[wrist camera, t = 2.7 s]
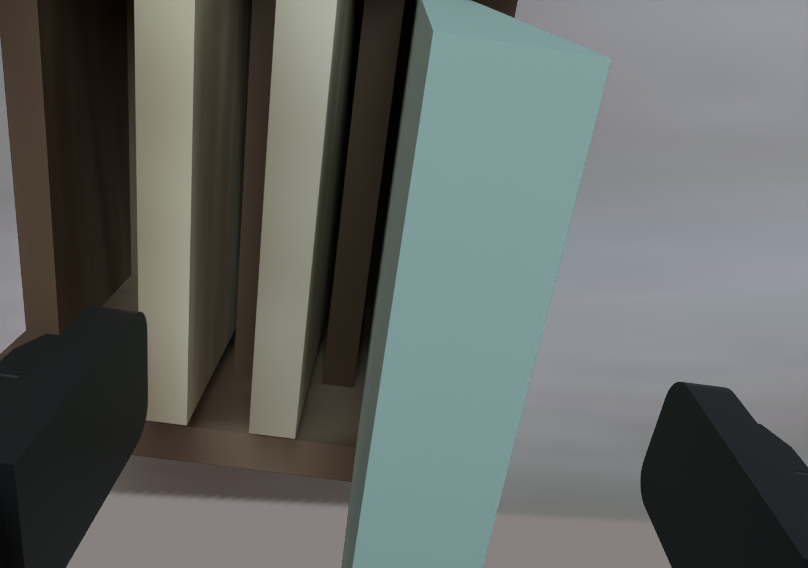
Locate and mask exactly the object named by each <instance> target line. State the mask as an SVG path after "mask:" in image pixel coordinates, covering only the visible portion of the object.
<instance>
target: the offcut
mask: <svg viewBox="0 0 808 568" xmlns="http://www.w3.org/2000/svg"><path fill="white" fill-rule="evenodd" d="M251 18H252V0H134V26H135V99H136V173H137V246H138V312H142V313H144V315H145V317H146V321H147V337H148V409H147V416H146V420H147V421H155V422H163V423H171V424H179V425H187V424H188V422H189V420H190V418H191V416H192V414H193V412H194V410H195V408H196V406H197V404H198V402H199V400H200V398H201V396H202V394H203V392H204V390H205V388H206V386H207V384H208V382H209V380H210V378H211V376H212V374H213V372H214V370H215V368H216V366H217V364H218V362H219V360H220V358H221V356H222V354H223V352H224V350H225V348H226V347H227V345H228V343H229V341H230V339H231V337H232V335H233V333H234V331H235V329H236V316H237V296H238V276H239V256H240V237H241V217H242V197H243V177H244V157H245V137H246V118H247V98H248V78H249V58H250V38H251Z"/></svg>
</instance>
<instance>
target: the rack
mask: <svg viewBox="0 0 808 568" xmlns="http://www.w3.org/2000/svg"><path fill="white" fill-rule="evenodd" d="M472 1H474V2H477V3H479V4H482V5H484V6H486V7H489V8H491V9H494V10H496V11H498V12H501V13H503V14H506V15H508V16H511V17H513V18H514V17H515V12H516V6H517V1H518V0H472ZM414 5H415V0H365V2H364V11H363V20H362V29H361V38H360V47H359V56H358V65H357V74H356V83H355V92H354V101H353V110H352V119H351V128H350V137H349V146H348V155H347V164H346V173H345V182H344V191H343V200H342V209H341V218H340V227H339V236H338V245H337V254H336V263H335V272H334V281H333V290H332V296H331V300H330V304H329V308H328V311H327V315H326V319H325V323H324V327H323V331H322V335H321V339H320V343H319V347H318V351H317V355H316V359H315V362H314V366H313V370H312V374H311V378H310V382H309V386H308V390H307V394H306V398H305V402H304V406H303V409H302V413H301V417H300V421H299V425H298V429H297V433H296V437H295V439H292V438H284V437H276V436H268V435H260V434H252V433H249V422H250V406H251V391H252V375H253V359H254V343H255V327H256V312H257V296H258V280H259V264H260V248H261V233H262V217H263V201H264V185H265V169H266V154H267V138H268V122H269V106H270V90H271V75H272V59H273V43H274V27H275V12H276V0H252V18H251V38H250V58H249V78H248V98H247V118H246V137H245V157H244V177H243V197H242V217H241V237H240V256H239V276H238V296H237V316H236V329H235V331H234V333H233V335H232V337H231V339H230V341H229V343H228V345H227V347H226V348H225V350H224V352H223V354H222V356H221V358H220V360H219V362H218V364H217V366H216V368H215V370H214V372H213V374H212V376H211V378H210V380H209V382H208V384H207V386H206V388H205V390H204V392H203V394H202V396H201V398H200V400H199V402H198V404H197V406H196V408H195V410H194V412H193V414H192V416H191V418H190V420H189V422H188V424H187V425H179V424H171V423H163V422H155V421H147V420H146V421H145V425H144V429H143V432H142V435H141V438H140V440H139V442H138V444H137V446H136V448H135V449H134V451H133V453H132V454H131V455H137V456H145V457H153V458H161V459H170V460H178V461H186V462H194V463H202V464H211V465H219V466H227V467H235V468H243V469H252V470H260V471H268V472H276V473H284V474H293V475H301V476H309V477H317V478H326V479H334V480H342V481H350V482H352V477H353V469H354V460H355V452H356V444H357V435H358V427H359V419H360V411H361V402H362V394H363V386H364V377H365V369H366V361H367V353H368V344H369V336H370V328H371V320H372V311H373V303H374V295H375V287H376V279H377V272H378V265H379V258H380V251H381V243H382V236H383V229H384V222H385V215H386V207H387V200H388V193H389V186H390V178H391V171H392V164H393V157H394V150H395V142H396V135H397V128H398V121H399V114H400V106H401V99H402V92H403V85H404V77H405V70H406V63H407V56H408V49H409V41H410V34H411V27H412V20H413V13H414ZM0 37H1V48H2V60H3V71H4V83H5V94H6V105H7V117H8V128H9V140H10V151H11V162H12V174H13V185H14V197H15V208H16V219H17V231H18V242H19V253H20V265H21V276H22V288H23V299H24V310H25V322H26V331H25V332H24V333H23V334H22V335H21V336H20V337H18V338H17V339H16V340H15V341H14V342H13V343H12V344H11V345H10V346H9V347H8V348H6V349H5V350H4V351H3V352H2V353H1V354H0V361H1V360H2V359H3V358H4V357H5V356H6V355H7V354H8V353H9V352H10V351H11V350H12V349H14V348H17V347H19V346H21V345H23V344H25V343H27V342H29V341H31V340H33V339H36V338H38V337H40V336H42V335H44V334H54V335H60V334H61V333H62V332H63V331H64V330H65V329H66V328H67V327H68V326H69V325H70V324H71V323H72V322H73V321H74V320H75V319H76V317H77V316H78V315H79V314H80V313H81V312H82V311H83V310H84V309H85V308H87V307H88V306H99V307H107V308H115V309H123V310H131V311H138V246H137V173H136V99H135V26H134V0H0Z"/></svg>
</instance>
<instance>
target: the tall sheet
mask: <svg viewBox="0 0 808 568" xmlns="http://www.w3.org/2000/svg"><path fill="white" fill-rule="evenodd" d="M611 59H612V58H610V57H608V56H605V55H603V54H600V53H598V52H595V51H593V50H591V49H588V48H586V47H583V46H581V45H578V44H576V43H574V42H571V41H569V40H566V39H564V38H562V37H559V36H557V35H554V34H552V33H549V32H547V31H545V30H542V29H540V28H537V27H535V26H532V25H530V24H528V23H525V22H523V21H520V20H518V19H515V18H513V17H511V16H508V15H506V14H503V13H501V12H498V11H496V10H494V9H491V8H489V7H486V6H484V5H482V4H479V3H477V2H474V1H472V0H415V5H414V13H413V20H412V27H411V34H410V41H409V49H408V56H407V63H406V70H405V77H404V85H403V92H402V99H401V106H400V114H399V121H398V128H397V135H396V142H395V150H394V157H393V164H392V171H391V178H390V186H389V193H388V200H387V207H386V215H385V222H384V229H383V236H382V243H381V251H380V258H379V265H378V272H377V279H376V287H375V295H374V303H373V311H372V320H371V328H370V336H369V344H368V353H367V361H366V369H365V377H364V386H363V394H362V402H361V411H360V419H359V427H358V435H357V444H356V452H355V460H354V469H353V477H352V485H351V493H350V502H349V511H348V518H347V527H346V535H345V544H344V551H343V560H342V568H483V565H484V561H485V557H486V553H487V549H488V545H489V541H490V537H491V533H492V530H493V526H494V522H495V518H496V514H497V510H498V506H499V502H500V498H501V494H502V490H503V486H504V482H505V478H506V474H507V470H508V466H509V462H510V458H511V454H512V451H513V447H514V443H515V439H516V435H517V431H518V427H519V423H520V419H521V415H522V411H523V407H524V403H525V399H526V395H527V391H528V387H529V383H530V379H531V375H532V372H533V368H534V364H535V360H536V356H537V352H538V348H539V344H540V340H541V336H542V332H543V328H544V324H545V320H546V316H547V312H548V308H549V304H550V300H551V296H552V292H553V289H554V285H555V281H556V277H557V273H558V269H559V265H560V261H561V257H562V253H563V249H564V245H565V241H566V237H567V233H568V229H569V225H570V221H571V217H572V213H573V209H574V206H575V202H576V198H577V194H578V190H579V186H580V182H581V178H582V174H583V170H584V166H585V162H586V158H587V154H588V150H589V146H590V142H591V138H592V134H593V130H594V126H595V123H596V119H597V115H598V111H599V107H600V103H601V99H602V95H603V91H604V87H605V83H606V79H607V75H608V71H609V67H610V63H611Z"/></svg>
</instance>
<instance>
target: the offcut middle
mask: <svg viewBox="0 0 808 568" xmlns="http://www.w3.org/2000/svg"><path fill="white" fill-rule="evenodd" d="M364 2H365V0H276V12H275V27H274V43H273V59H272V75H271V90H270V106H269V122H268V138H267V154H266V169H265V185H264V201H263V217H262V233H261V248H260V264H259V280H258V296H257V312H256V327H255V343H254V359H253V375H252V391H251V406H250V422H249V433H252V434H260V435H268V436H276V437H284V438H292V439H295V437H296V433H297V429H298V425H299V421H300V417H301V413H302V409H303V406H304V402H305V398H306V394H307V390H308V386H309V382H310V378H311V374H312V370H313V366H314V362H315V359H316V355H317V351H318V347H319V343H320V339H321V335H322V331H323V327H324V323H325V319H326V315H327V311H328V308H329V304H330V300H331V296H332V290H333V281H334V272H335V263H336V254H337V245H338V236H339V227H340V218H341V209H342V200H343V191H344V182H345V173H346V164H347V155H348V146H349V137H350V128H351V119H352V110H353V101H354V92H355V83H356V74H357V65H358V56H359V47H360V38H361V29H362V20H363V11H364Z"/></svg>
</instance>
